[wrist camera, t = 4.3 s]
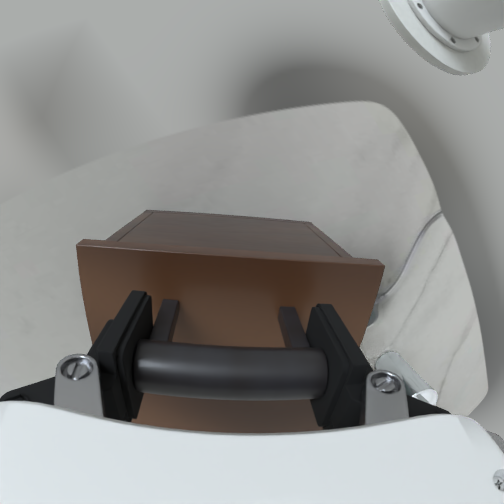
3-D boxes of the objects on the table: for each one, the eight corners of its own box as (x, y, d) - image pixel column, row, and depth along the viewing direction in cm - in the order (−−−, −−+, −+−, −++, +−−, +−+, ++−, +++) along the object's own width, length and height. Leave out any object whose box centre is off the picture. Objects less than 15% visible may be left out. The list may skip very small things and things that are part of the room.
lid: (82, 238, 12) (12, 298, 7) (377, 259, 13) (446, 322, 8) (130, 446, 17) (118, 505, 12) (306, 452, 19) (321, 511, 14)
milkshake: (400, 334, 29) (447, 390, 20) (404, 364, 31) (444, 418, 22) (365, 353, 30) (405, 416, 20) (373, 381, 31) (407, 441, 22)
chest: (146, 209, 23) (91, 249, 13) (310, 222, 25) (366, 268, 14) (152, 363, 28) (130, 445, 17) (284, 370, 29) (306, 452, 19)
